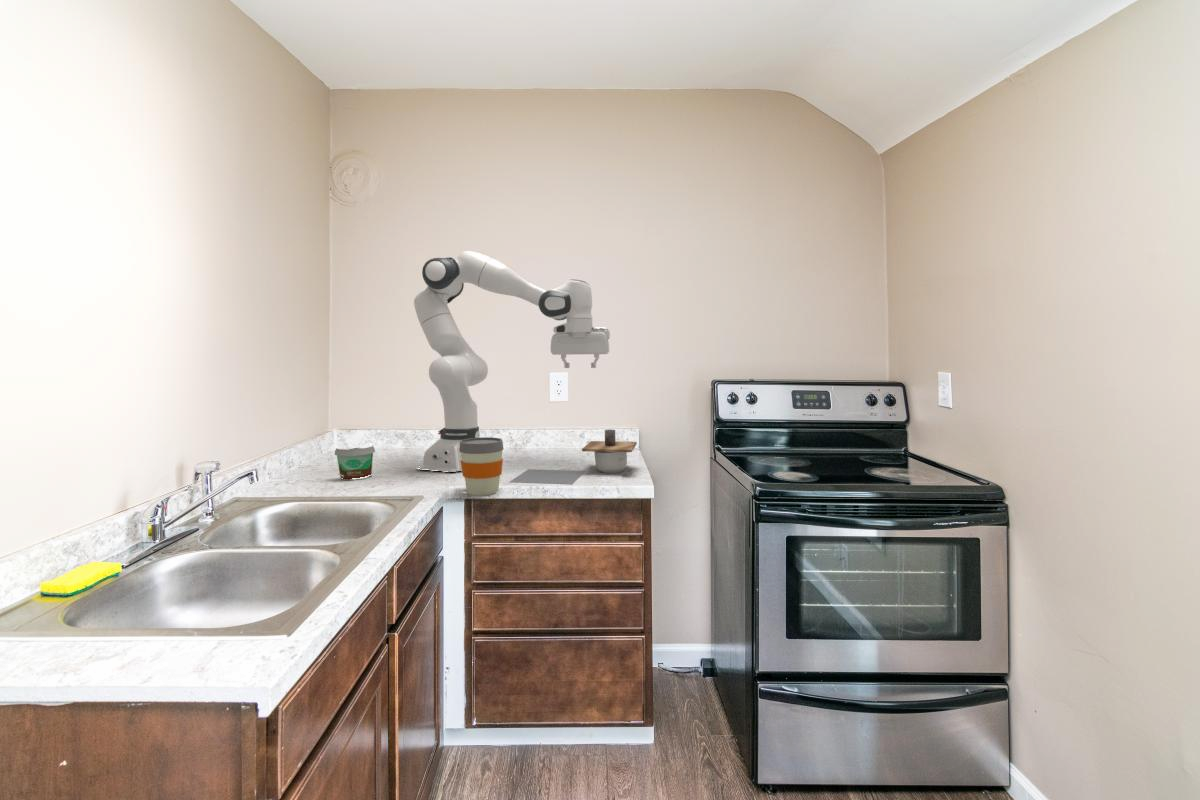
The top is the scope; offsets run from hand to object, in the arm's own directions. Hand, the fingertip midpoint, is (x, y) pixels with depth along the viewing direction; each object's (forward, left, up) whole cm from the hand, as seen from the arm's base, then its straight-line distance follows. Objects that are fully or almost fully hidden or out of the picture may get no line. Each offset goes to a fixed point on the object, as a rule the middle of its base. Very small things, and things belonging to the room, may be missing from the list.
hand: (580, 367), depth 213 cm
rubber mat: (-6, -21, -34) cm, 40 cm away
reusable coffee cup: (-20, -42, -34) cm, 58 cm away
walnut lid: (+12, -8, -26) cm, 30 cm away
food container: (-67, -31, -34) cm, 81 cm away
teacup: (+12, -8, -34) cm, 37 cm away
